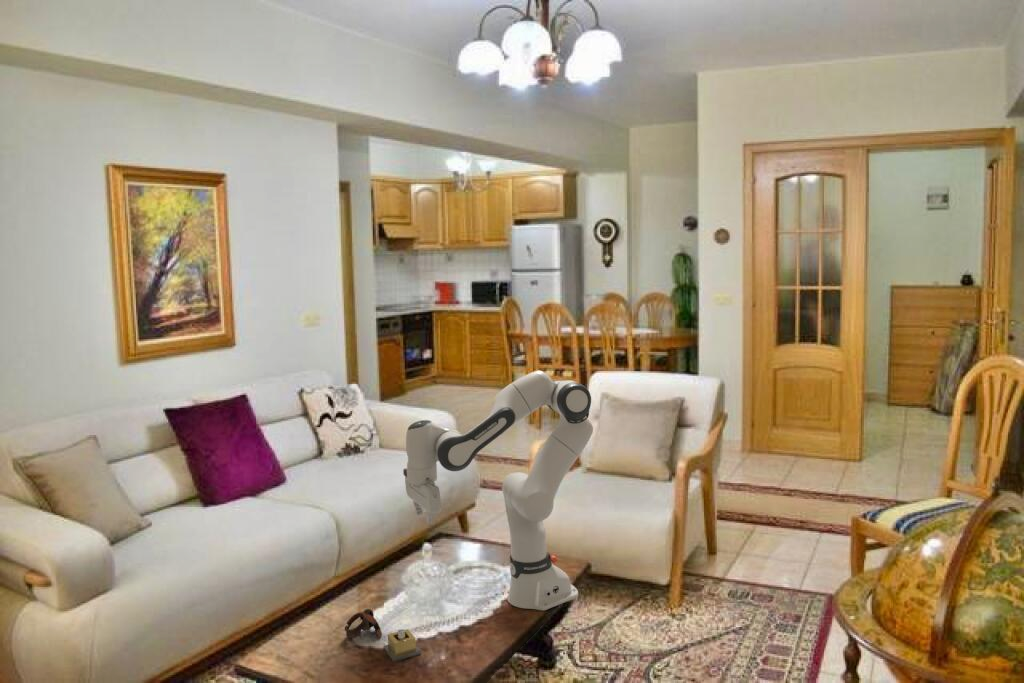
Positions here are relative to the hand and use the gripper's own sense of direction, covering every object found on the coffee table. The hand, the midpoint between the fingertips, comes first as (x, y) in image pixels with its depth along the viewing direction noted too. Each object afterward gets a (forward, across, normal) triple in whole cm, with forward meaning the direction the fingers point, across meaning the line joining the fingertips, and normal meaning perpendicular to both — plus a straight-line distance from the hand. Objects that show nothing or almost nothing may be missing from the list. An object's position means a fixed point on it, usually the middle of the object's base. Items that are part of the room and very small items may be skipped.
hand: (424, 518), depth 249 cm
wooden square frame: (+28, -20, +16) cm, 38 cm away
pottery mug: (+30, -6, +22) cm, 37 cm away
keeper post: (+29, -20, +16) cm, 39 cm away
